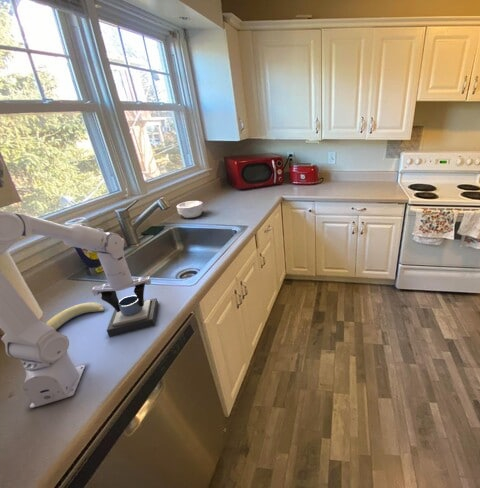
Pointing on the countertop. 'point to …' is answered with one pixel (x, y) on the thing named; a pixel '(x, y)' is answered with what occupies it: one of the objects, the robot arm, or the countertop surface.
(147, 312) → the platform
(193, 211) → the paper bowls
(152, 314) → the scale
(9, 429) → the countertop surface
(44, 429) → the countertop surface
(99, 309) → the fruit
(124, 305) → the bowl
